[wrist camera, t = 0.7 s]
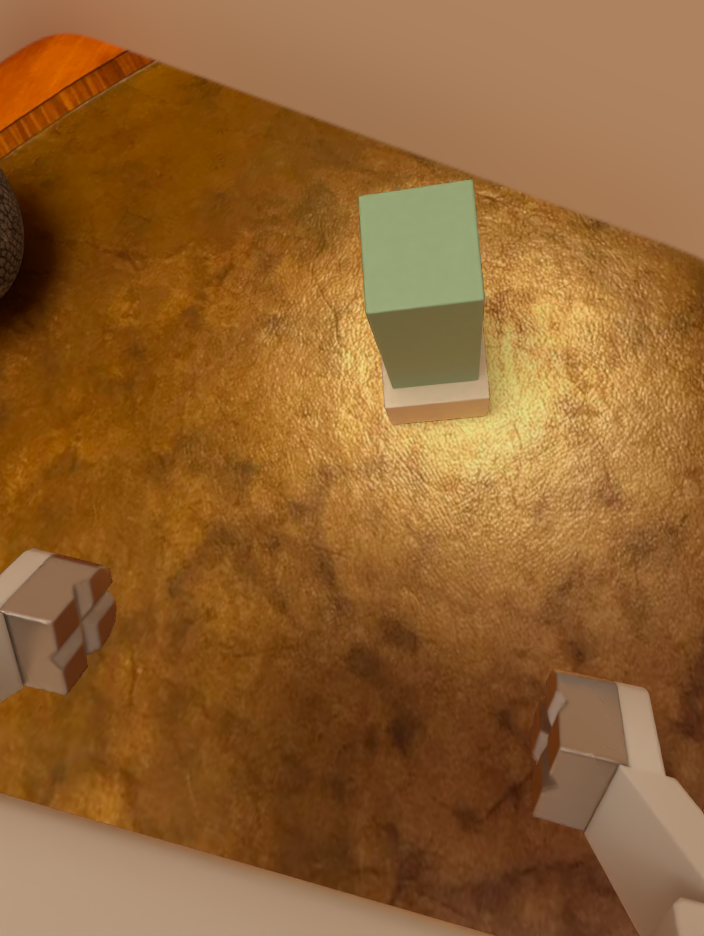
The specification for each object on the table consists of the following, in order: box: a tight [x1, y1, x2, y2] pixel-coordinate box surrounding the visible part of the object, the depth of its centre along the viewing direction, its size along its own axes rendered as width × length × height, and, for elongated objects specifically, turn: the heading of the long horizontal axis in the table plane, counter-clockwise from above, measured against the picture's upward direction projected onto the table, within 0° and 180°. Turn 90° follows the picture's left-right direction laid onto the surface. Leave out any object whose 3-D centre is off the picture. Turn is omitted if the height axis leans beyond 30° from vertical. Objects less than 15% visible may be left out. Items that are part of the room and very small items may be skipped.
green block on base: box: [358, 180, 490, 425], centre depth 25 cm, size 4×6×11 cm
